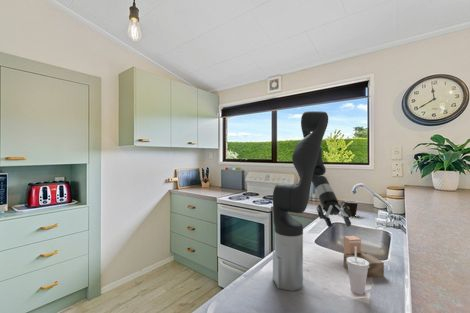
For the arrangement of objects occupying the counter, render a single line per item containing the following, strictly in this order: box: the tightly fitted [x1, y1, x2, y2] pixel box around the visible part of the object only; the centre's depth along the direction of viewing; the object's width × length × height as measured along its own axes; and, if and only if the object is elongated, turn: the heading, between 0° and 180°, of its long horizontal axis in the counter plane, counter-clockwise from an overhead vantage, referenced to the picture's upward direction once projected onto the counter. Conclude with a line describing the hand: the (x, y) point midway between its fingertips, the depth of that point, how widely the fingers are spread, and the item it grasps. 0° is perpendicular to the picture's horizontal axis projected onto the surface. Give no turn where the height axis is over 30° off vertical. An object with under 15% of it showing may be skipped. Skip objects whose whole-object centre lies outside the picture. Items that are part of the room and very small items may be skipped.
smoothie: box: [346, 246, 369, 295], centre depth 70 cm, size 6×6×14 cm
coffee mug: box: [340, 200, 359, 217], centre depth 163 cm, size 12×9×10 cm
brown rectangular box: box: [343, 252, 385, 278], centre depth 82 cm, size 10×8×5 cm
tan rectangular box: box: [343, 235, 362, 255], centre depth 88 cm, size 5×4×10 cm
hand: (340, 226), depth 96 cm, fingers open, 8 cm apart
